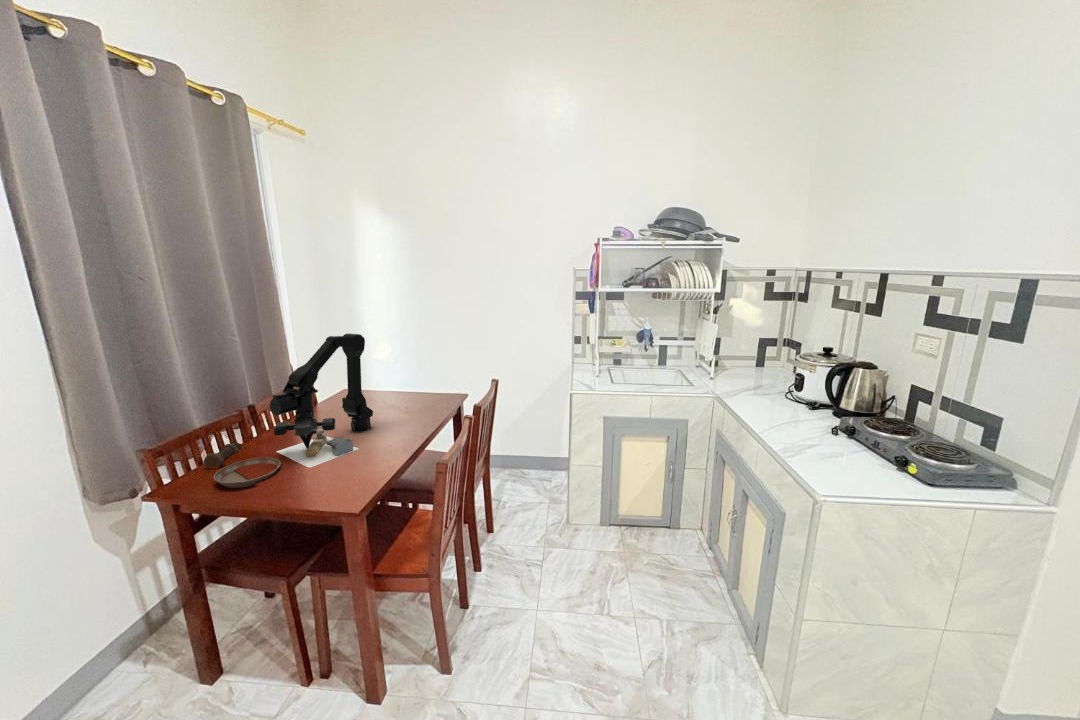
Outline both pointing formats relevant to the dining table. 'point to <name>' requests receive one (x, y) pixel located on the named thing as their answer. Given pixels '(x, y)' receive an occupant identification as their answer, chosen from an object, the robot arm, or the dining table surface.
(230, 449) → the bolt
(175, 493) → the dining table surface
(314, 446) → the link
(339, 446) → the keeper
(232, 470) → the plant saucer
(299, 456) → the base plate
